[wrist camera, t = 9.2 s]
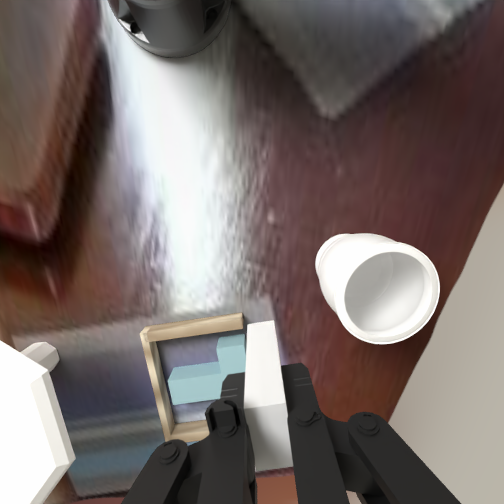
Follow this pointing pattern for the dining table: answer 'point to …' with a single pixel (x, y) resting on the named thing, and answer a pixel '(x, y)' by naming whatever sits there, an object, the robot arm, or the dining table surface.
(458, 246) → the dining table surface
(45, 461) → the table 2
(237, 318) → the dock
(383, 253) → the jar
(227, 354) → the t block
